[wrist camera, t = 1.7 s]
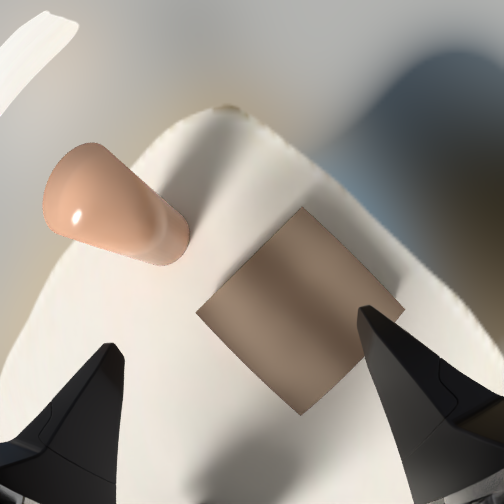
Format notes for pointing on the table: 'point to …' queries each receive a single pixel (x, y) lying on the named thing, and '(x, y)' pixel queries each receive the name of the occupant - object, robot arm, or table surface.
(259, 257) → the walnut plinth
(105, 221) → the peach dome-topped cylinder
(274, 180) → the table surface
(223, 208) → the table surface
